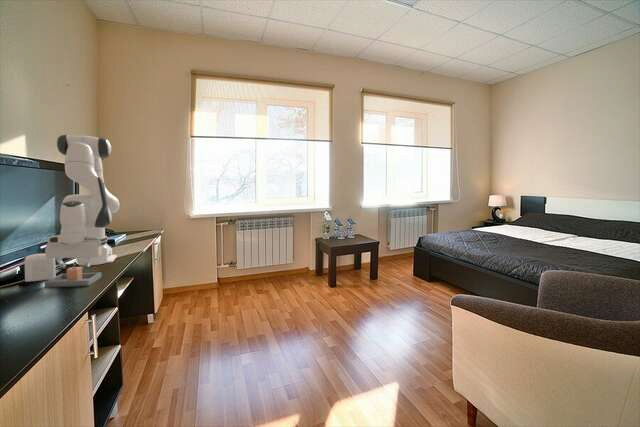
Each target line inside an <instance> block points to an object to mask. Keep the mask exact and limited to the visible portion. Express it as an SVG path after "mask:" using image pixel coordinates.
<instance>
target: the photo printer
mask: <svg viewBox="0 0 640 427" xmlns="http://www.w3.org/2000/svg"><path fill="white" fill-rule="evenodd" d="M56 276H57V275H56V258H47V257H46V256H45V252H44V253H33V254H30V255H27V256H25V259H24V282H26V283H27V282H28V283H29V282H36V281H37V282H38V281H48V280H50V279H52V278H54V277H56Z"/></svg>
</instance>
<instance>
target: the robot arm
mask: <svg viewBox="0 0 640 427" xmlns="http://www.w3.org/2000/svg"><path fill="white" fill-rule="evenodd" d="M56 147H57V151H58V152H59V153H60V154H61V155H63V156H65V159H64V171H65V175H66V176H67V178H69V179H70V180H71V181H73V182H75V183H78V185H79V186H81V187H82V188H84V189H86V190H89V191H90V194H79V193H77V194H69V195H66V196H65V197H64V199H63V200H62V203H61V206H60V213H59V222H60V225H61V227H60V228H61V229H60V233H59V234H55V235H52V236H50V237H47V238H46V242H47V243H46V245H45V250H44V253H45V256H46V257H47V258H55V262H57V264H59V268H66V266H67V265H66V262H64V261H63V259H75V261H77V263H78V266H84V267H85V268H89V267H91V266H97V265H98V266H99V265H101V264H102V265H103V264H109V263H113V262H114V261H115V260H116V258H118V255H117V254H113V248H112V246H110V245H108V240H109V237H108V236H106V228H107V226H109V225H110V224H112V219H113V215H112V214H115V213H117V212H118V211H119V209H120V206H121V204H120V201H119V199H118V198H117V197H116V196H114V194H112V193H111V192H109V190H108V189H107V187H106V185H105V181H104V179H105V178H104V167H103V163H102V161H103V160H105V158H108V157H109V156H110V155H111V153H112V145H111V143H110V141H109V140H108V139H107V138H103V137H97V136H90V135H73V134H72V135H71V134H70V135H69V134H61V135H60V136H59V137H57V140H56Z"/></svg>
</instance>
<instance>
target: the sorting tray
mask: <svg viewBox="0 0 640 427" xmlns="http://www.w3.org/2000/svg"><path fill="white" fill-rule="evenodd" d="M101 278H102V272H82V280H70V281H67V273H60V274H59V275H56V277H54V278H52V279H50V280H45V281H44V288H45V289H47V288H48V289H49V288H51V289H52V288H69V287H70V288H72V287H73V288H74V287H89V286H91V285H92V284H95V283H96V282H97V281H99V280H100V279H101Z"/></svg>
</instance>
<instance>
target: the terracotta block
mask: <svg viewBox="0 0 640 427" xmlns="http://www.w3.org/2000/svg"><path fill="white" fill-rule="evenodd" d="M82 273H83V267H82V266H73V267H69V268H67V269H66V274H67V281H70V280H82Z"/></svg>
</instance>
